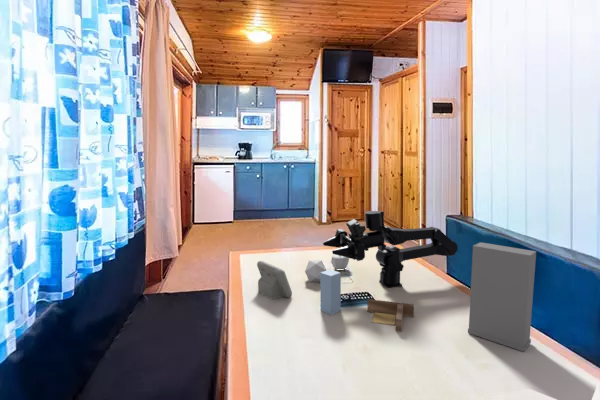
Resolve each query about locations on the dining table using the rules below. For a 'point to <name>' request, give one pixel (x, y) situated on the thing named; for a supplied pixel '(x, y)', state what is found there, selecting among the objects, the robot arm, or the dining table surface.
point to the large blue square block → (330, 291)
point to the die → (314, 270)
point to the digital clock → (273, 281)
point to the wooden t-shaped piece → (390, 312)
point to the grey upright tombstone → (502, 294)
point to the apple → (339, 262)
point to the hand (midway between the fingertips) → (327, 247)
